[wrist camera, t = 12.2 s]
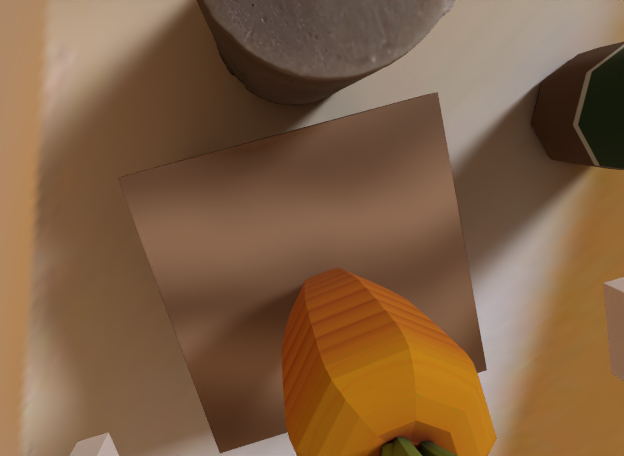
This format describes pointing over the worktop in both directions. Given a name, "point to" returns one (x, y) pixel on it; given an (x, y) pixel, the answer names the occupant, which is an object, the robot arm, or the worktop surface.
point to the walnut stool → (299, 246)
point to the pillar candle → (315, 41)
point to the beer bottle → (584, 109)
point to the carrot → (376, 376)
